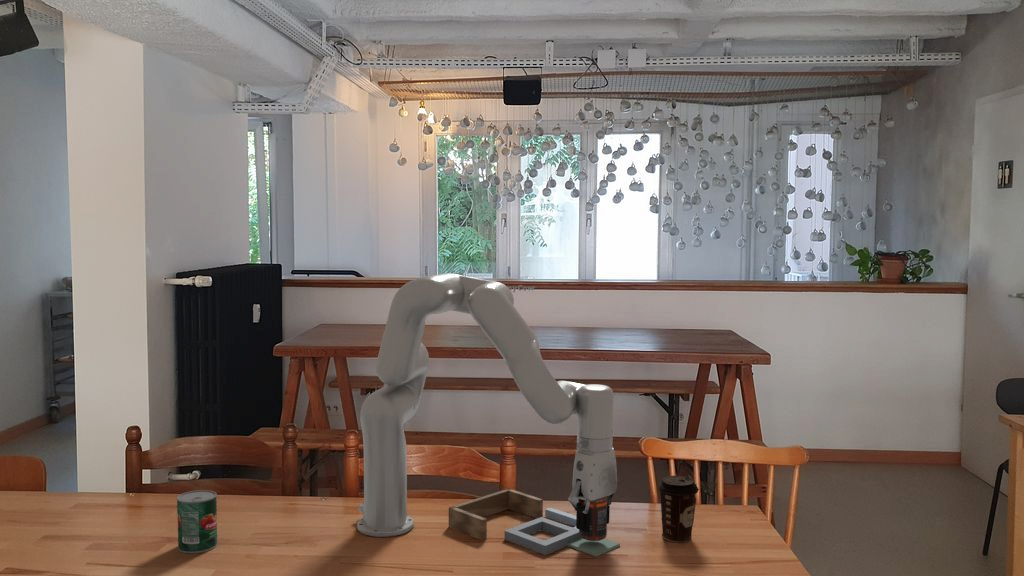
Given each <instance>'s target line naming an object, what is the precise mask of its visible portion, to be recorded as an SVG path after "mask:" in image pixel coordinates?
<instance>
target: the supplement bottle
mask: <svg viewBox="0 0 1024 576" xmlns="http://www.w3.org/2000/svg"><path fill="white" fill-rule="evenodd" d="M582 497H584V496H582ZM584 503H585V501H584V500H582V504H583V506H584ZM588 513H590V530H589V532H585V531H582V530H579V535H580V537H581V538H583V539H585V540H589V541H599V540H602V539H604V538H605V539H606V538H607V535H608V534H607V533H608V530H607V528H608V524H607V497H603V498H601V499H598V500H595V501H591V502H590V506H589V510H588Z"/></svg>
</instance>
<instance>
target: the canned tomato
mask: <svg viewBox="0 0 1024 576" xmlns="http://www.w3.org/2000/svg"><path fill="white" fill-rule="evenodd" d="M217 496H218V495H217V492H216V491H213V490H207V489H206V490H205V489H196V490H192V491H191V490H190V491H187V492H183V493H180V494H179V495H178V496H177V497H176V502H177V503H176V508H177V510H176V511H177V512H176V513H177V542H178V543H177V544H178V546H177V550H178V552H181V553H183V554H200V553H205V552H209V551H211V550H214V549H215V548H216V547H218V517H217V516H218V509H217V507H218V505H217V503H218V502H217Z"/></svg>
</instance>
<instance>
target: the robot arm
mask: <svg viewBox="0 0 1024 576" xmlns="http://www.w3.org/2000/svg"><path fill="white" fill-rule="evenodd" d="M514 301H515V298H514V295H513V292H512V291H511V289H510V288H509V287H508V286H507V285H505V284H504V283H502V282H499V281H495V280H487V279H483V278H477V277H473V276H467V275H461V274H456V273H448V272H447V273H446V272H445V273H440V274H433V275H427V276H422V277H418V278H415V279H412V280H410V281H408V282H406V283H404V284H403V285H402V286H401V287H400V288H399V289H398V290H397V291H396V292H395V294H394V296H393V298H392V300H391V304H390V307H389V310H388V311H389V312H388V315H387V320H386V323H385V324H386V325H385V328H384V331H383V335H382V338H381V341H380V347H379V351H378V355H377V358H376V365H375V370H376V373H377V374H376V375H377V377H378V378H379V380H380V381H381V383H383V386H382V387H380V388H378V389H377V390H375V391H373V392H372V393H370V394H369V395H368V396H367V397H366V398H365V400H364V401H363V403H362V405H361V409H360V412H359V414H360V415H359V418H360V427H361V433H362V442H363V443H362V444H363V445H362V446H363V501H362V504H359V505H358V506H357V510H358V511H360V512H362V518H360V519H359V520H358V521H357V525H356V526H357V530H358V531H359V532H360V533H361V534H363V535H364V536H365V535H366V536H369V537H378V538H383V537H387V538H388V537H395V536H399V535H400V536H401V535H403V534H406V533H408V532H410V531H411V530H412V529H413V527H414V525H415V524H414V523H415V521H414V519H413V517H411V516H409V515H408V512H407V511H408V510H407V509H408V503H407V502H408V495H407V494H408V493H407V492H408V491H407V488H408V487H407V486H408V484H407V483H408V479H407V477H408V475H407V473H408V471H407V469H408V468H407V465H408V464H407V461H408V460H407V457H408V456H407V442H406V441H407V440H406V435H405V430H404V424H405V423H406V422H408V421H409V420H411V418H412V417H414V416H415V414H416V413H417V411H418V408H419V406H420V403H421V400H422V399H421V398H422V395H423V391H424V387H425V383H426V379H427V376H428V370H429V365H430V355H429V351H428V349H427V348H426V345H425V344H424V343H422V340H423V337H424V334H425V333H424V332H425V328H426V320H427V317H429V316H430V315H438V314H442V313H447V312H450V311H452V312H458V313H462V314H463V313H464V314H467V315H471V317H472V318H473V320H474V321H475V322H476V324H477V325H478V326H479V328H480V329H481V330H482V331H483V333H484V334H485V335H486V337H487V339H488V340H489V341H490V342H491V344H492V345H493V346H494V348H496V350H497V352H498V353H499V355H501V357H502V358H503V360H504V361H505V365H506V366H507V369H508V370H509V372H510V375H511V377H512V379H513V380H514V382H515V384H516V386H517V387H518V389H519V390H520V393H521V394H522V396H523V397H524V398H525V400H526V401H527V402H528V403H529V405H530V407H531V408H532V409H533V410H534V412H535V413H536V414H537V415H538V417H540V419H542V420H543V421H545V422H546V423H548V424H551V425H561V424H563V423H565V422H567V421H568V420H569V419H570V418H571V417H572V416H573V415H576V416H577V417H576V419H577V421H576V422H577V424H576V425H577V427H576V429H577V430H576V431H577V433H576V451H575V456H574V462H573V471H572V490H571V492H570V494H569V496H568V498H567V500H568V502H569V503H570V504H571V505H572V507H573V508H574V511H575V512H576V515H575V516H576V528H577V529H579V530H582V531H585V532H589V530H590V513H588V510H589V506H590V502H591V501H595V500H598V499H601V498H603V497H607V525H608V524H609V523H610V507H611V504H612V503H613V502H612V498H613V496H614V494H615V492H616V491H617V487H618V485H619V484H618V475H617V473H618V472H617V460H616V459H617V458H616V453H615V449H614V447H613V438H614V437H613V435H614V434H613V433H614V431H613V430H614V426H613V425H614V398H615V397H614V390H613V389H612V387H610V386H608V385H605V384H597V383H595V384H593V383H592V384H589V383H588V384H583V383H579V382H578V383H577V382H573V381H569V380H568V381H567V380H558V381H557V380H556V379H555V377H554V376H553V374H552V373H551V372H550V370H549V369H548V367H547V365H546V363H545V361H544V359H543V357H542V354H541V351H540V349H541V348H540V345H539V343H540V342H539V340H538V338H537V336H536V334H535V331H533V330H532V328H531V327H530V325H529V324H528V323H527V322H526V321H525V319H524V318H523V317H522V315H521V314H520V313H519V312H518V310H517V308H516V307H515V305H514V304H515V303H514ZM582 496H584V497H582ZM582 500H584V501H585V503H584V506H583V504H582Z"/></svg>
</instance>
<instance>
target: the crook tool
mask: <svg viewBox="0 0 1024 576" xmlns="http://www.w3.org/2000/svg"><path fill="white" fill-rule="evenodd" d="M544 516H546V517H545V518H547V519H550V520H551V519H552V520H553V521H557V520H558V521H557V522H560V521H561V522H560V523H563V522H564V523H563V524H566V523H567V524H566V525H568V526H571V525H572V526H571V527H572V528H575V529H577V528H576V515H575V514H571V513H568V512H566V511H562V510H561V509H560V510H559V509H556V508H554V507H548V508H545V510H544ZM574 526H575V527H574ZM578 530H579V529H578Z"/></svg>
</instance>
